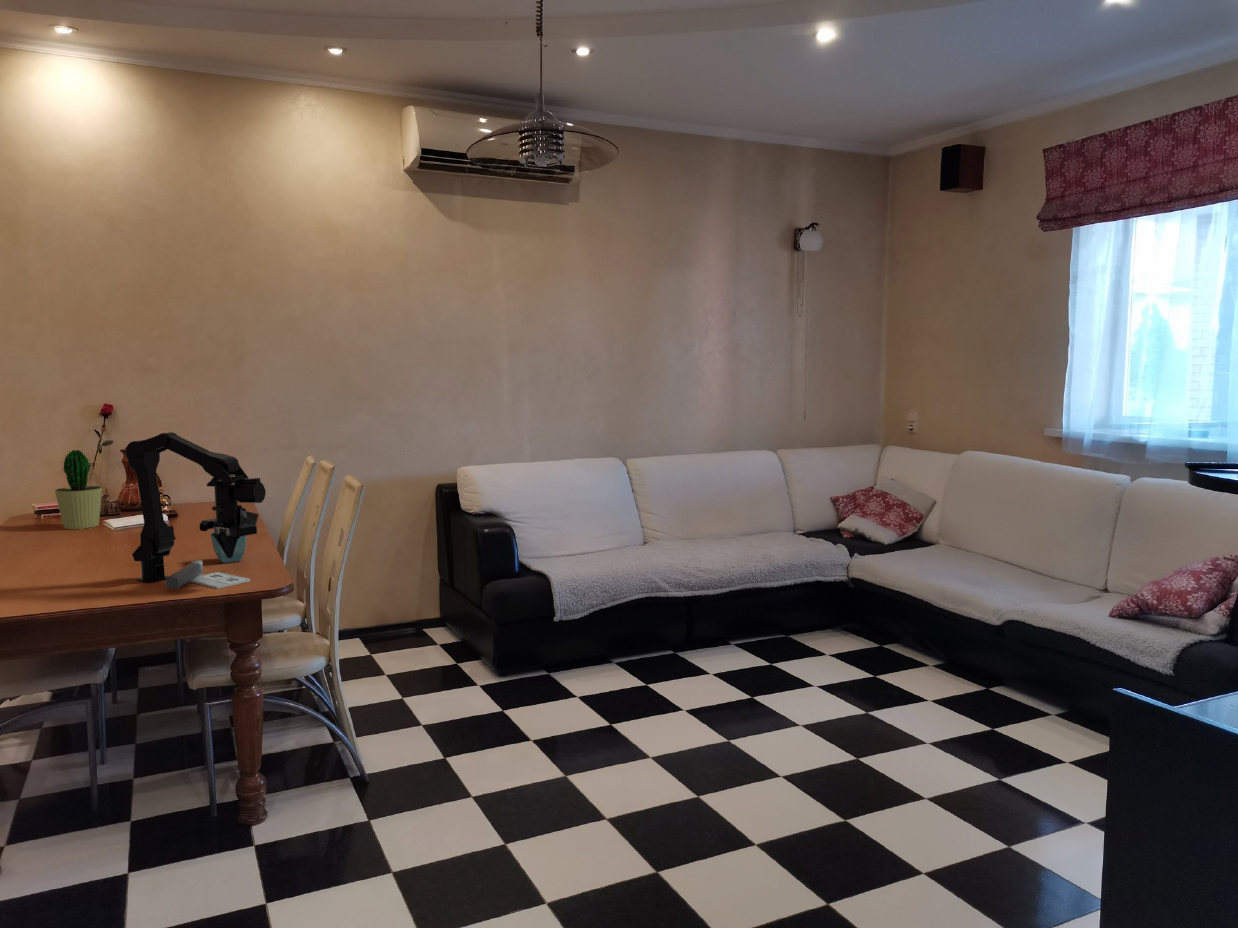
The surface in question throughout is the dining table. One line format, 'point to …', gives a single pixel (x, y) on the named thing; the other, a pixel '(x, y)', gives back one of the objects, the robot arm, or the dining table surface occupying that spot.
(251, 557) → the dining table surface
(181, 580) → the bar
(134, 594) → the dining table surface
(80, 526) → the potted cactus
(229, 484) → the robot arm
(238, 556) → the flower pot
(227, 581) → the label board
